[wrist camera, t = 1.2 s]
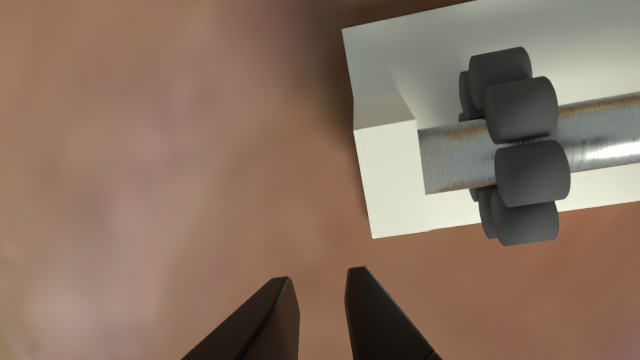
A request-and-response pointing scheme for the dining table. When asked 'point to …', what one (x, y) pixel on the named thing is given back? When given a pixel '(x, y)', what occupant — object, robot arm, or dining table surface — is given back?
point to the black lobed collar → (521, 160)
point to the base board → (444, 101)
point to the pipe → (571, 133)
